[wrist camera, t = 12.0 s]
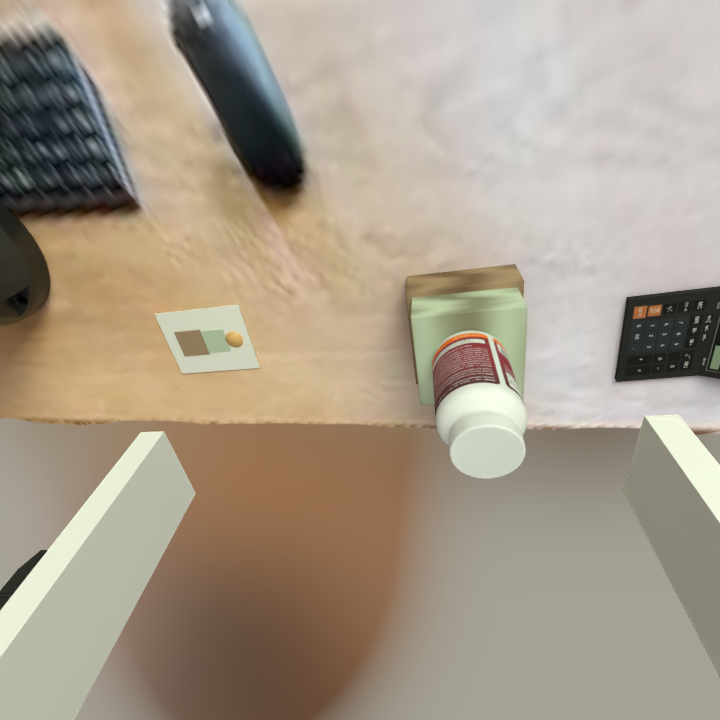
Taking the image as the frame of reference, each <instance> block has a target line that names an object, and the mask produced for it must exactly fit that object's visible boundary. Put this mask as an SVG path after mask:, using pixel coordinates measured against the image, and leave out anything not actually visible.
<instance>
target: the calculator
mask: <svg viewBox="0 0 720 720" xmlns="http://www.w3.org/2000/svg"><path fill="white" fill-rule="evenodd" d="M696 375H699V376H706V377H712V378H718V379H720V286H719V287H711V288H702V289H693V290H685V291H676V292H667V293H659V294H650V295H642V296H633V297H627V301H626V308H625V315H624V321H623V328H622V335H621V342H620V348H619V355H618V362H617V369H616V375H615V379H616V381H617V382H621V381H633V380H646V379H658V378H671V377H683V376H696Z"/></svg>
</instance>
